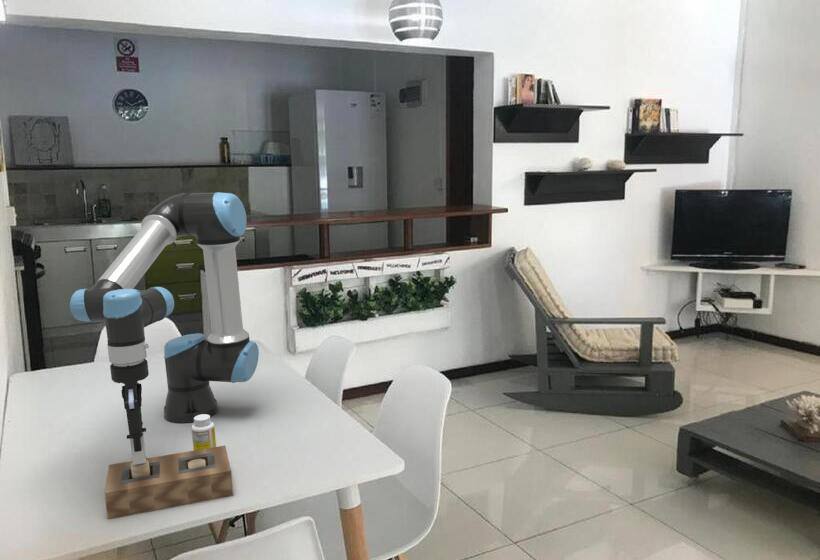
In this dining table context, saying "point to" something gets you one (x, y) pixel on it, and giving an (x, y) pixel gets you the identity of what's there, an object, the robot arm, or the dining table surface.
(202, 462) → the short peg
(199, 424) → the supplement bottle
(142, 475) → the beige round peg
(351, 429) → the dining table surface
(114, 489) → the socket block
